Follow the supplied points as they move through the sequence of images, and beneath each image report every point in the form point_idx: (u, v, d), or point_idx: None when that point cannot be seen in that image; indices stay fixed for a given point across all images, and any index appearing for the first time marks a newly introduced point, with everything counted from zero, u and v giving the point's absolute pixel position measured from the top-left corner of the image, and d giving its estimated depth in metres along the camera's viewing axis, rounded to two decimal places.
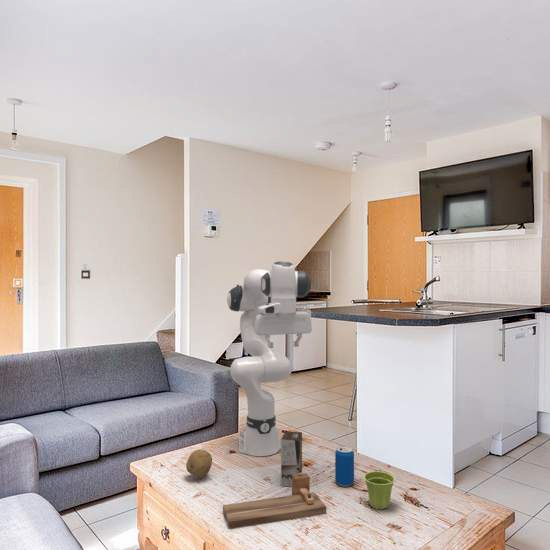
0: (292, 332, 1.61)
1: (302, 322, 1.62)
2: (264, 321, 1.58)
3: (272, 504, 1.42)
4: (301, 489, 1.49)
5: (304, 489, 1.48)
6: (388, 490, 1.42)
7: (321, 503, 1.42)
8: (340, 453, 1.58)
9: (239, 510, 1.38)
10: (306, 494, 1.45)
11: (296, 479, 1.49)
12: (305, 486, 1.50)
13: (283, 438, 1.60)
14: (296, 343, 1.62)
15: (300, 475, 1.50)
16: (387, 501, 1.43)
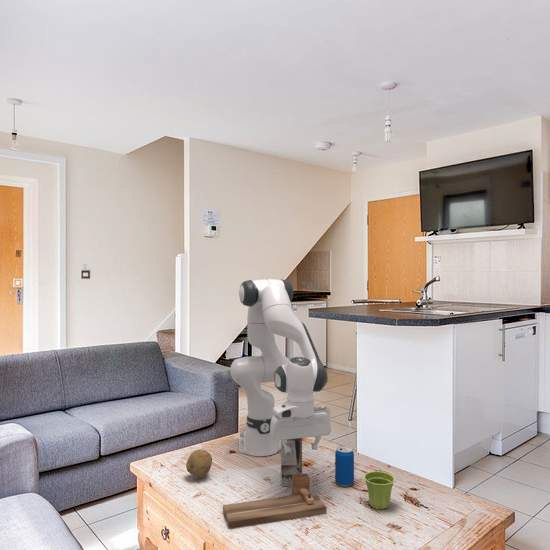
0: (310, 435, 1.50)
1: (321, 424, 1.51)
2: (280, 425, 1.47)
3: (272, 504, 1.42)
4: (301, 489, 1.49)
5: (304, 489, 1.48)
6: (388, 490, 1.42)
7: (321, 503, 1.42)
8: (340, 453, 1.58)
9: (239, 510, 1.38)
10: (306, 494, 1.45)
11: (296, 479, 1.49)
12: (305, 486, 1.50)
13: None
14: (314, 446, 1.51)
15: (300, 475, 1.50)
16: (387, 501, 1.43)
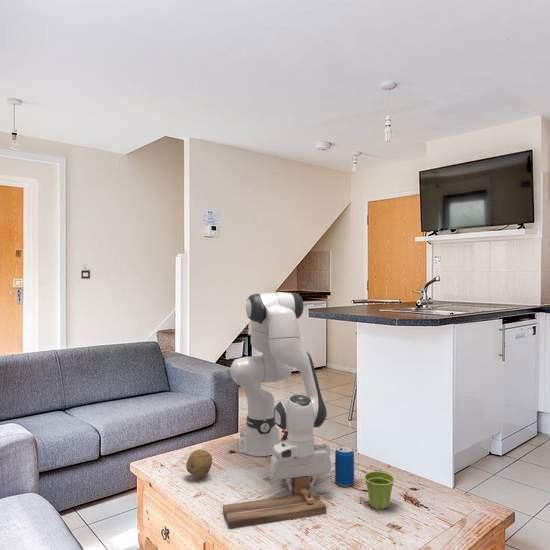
0: (310, 474, 1.50)
1: (321, 462, 1.51)
2: (280, 465, 1.47)
3: (272, 504, 1.42)
4: (301, 489, 1.49)
5: (304, 489, 1.48)
6: (388, 490, 1.42)
7: (321, 503, 1.42)
8: (340, 453, 1.58)
9: (239, 510, 1.38)
10: (306, 494, 1.45)
11: (296, 479, 1.49)
12: (305, 486, 1.50)
13: (283, 438, 1.60)
14: (310, 485, 1.51)
15: None
16: (387, 501, 1.43)
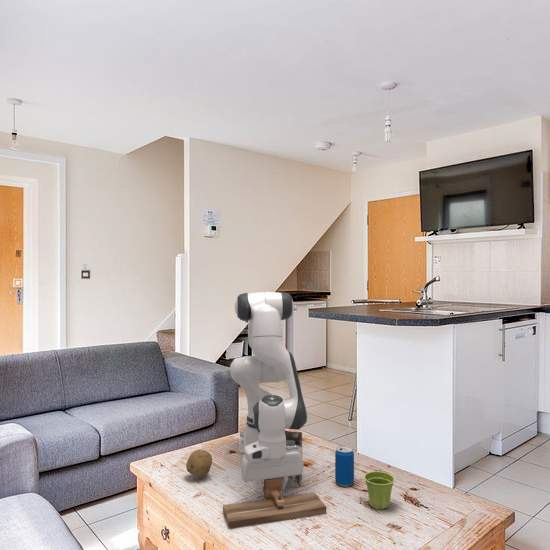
0: (282, 475, 1.47)
1: (293, 464, 1.48)
2: (250, 466, 1.44)
3: (272, 504, 1.42)
4: (272, 491, 1.46)
5: (275, 491, 1.45)
6: (388, 490, 1.42)
7: (321, 503, 1.42)
8: (340, 453, 1.58)
9: (239, 510, 1.38)
10: (277, 496, 1.42)
11: (267, 481, 1.46)
12: (277, 488, 1.47)
13: None
14: (282, 487, 1.48)
15: None
16: (387, 501, 1.43)
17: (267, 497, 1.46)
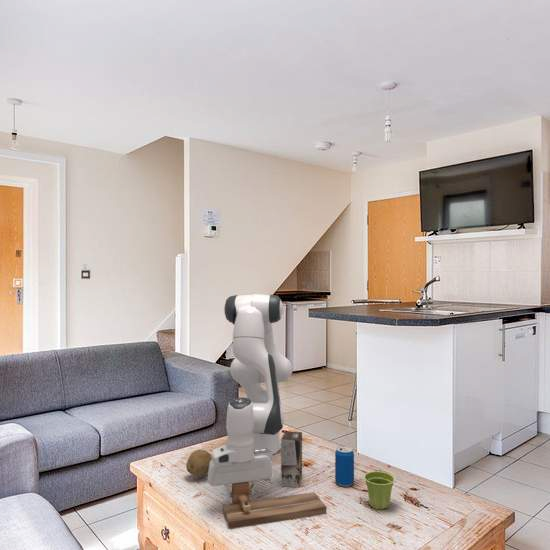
0: (250, 480, 1.44)
1: (262, 468, 1.45)
2: (217, 470, 1.41)
3: (272, 504, 1.42)
4: (240, 495, 1.43)
5: (243, 496, 1.42)
6: (388, 490, 1.42)
7: (321, 503, 1.42)
8: (340, 453, 1.58)
9: (239, 510, 1.38)
10: (244, 501, 1.39)
11: (235, 485, 1.43)
12: (245, 492, 1.44)
13: (283, 438, 1.60)
14: (250, 491, 1.45)
15: None
16: (387, 501, 1.43)
17: (235, 502, 1.43)
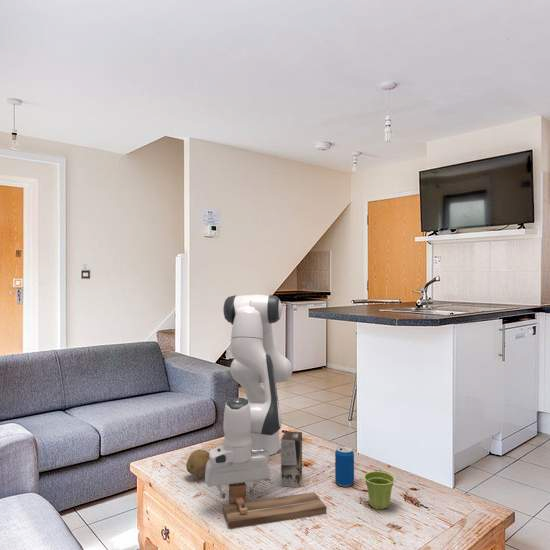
0: (247, 480, 1.44)
1: (259, 468, 1.45)
2: (214, 471, 1.41)
3: (272, 504, 1.42)
4: (237, 498, 1.43)
5: (240, 498, 1.42)
6: (388, 490, 1.42)
7: (321, 503, 1.42)
8: (340, 453, 1.58)
9: None
10: (241, 503, 1.39)
11: (232, 488, 1.43)
12: (242, 495, 1.44)
13: (283, 438, 1.60)
14: (252, 491, 1.45)
15: (237, 483, 1.44)
16: (387, 501, 1.43)
17: None
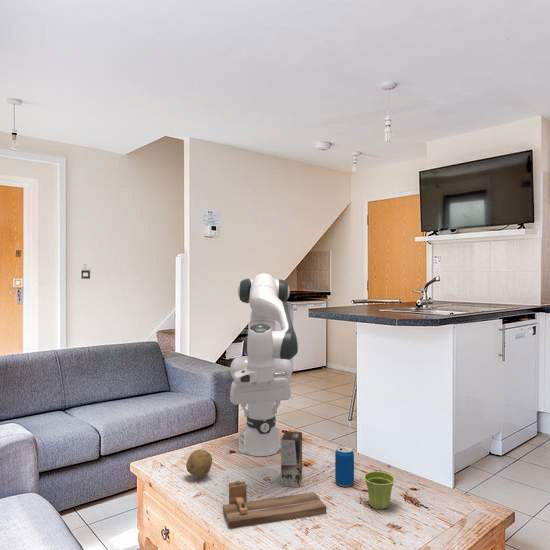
0: (269, 400, 1.53)
1: (280, 389, 1.54)
2: (239, 390, 1.50)
3: (272, 504, 1.42)
4: (237, 498, 1.43)
5: (240, 498, 1.42)
6: (388, 490, 1.42)
7: (321, 503, 1.42)
8: (340, 453, 1.58)
9: None
10: (241, 503, 1.39)
11: (232, 488, 1.43)
12: (242, 495, 1.44)
13: (283, 438, 1.60)
14: (274, 410, 1.54)
15: (237, 483, 1.44)
16: (387, 501, 1.43)
17: None
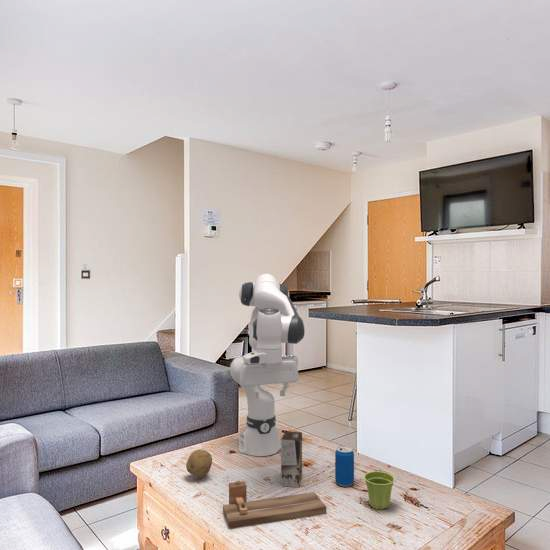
0: (278, 382, 1.56)
1: (289, 371, 1.57)
2: (249, 371, 1.53)
3: (272, 504, 1.42)
4: (237, 498, 1.43)
5: (240, 498, 1.42)
6: (388, 490, 1.42)
7: (321, 503, 1.42)
8: (340, 453, 1.58)
9: None
10: (241, 503, 1.39)
11: (232, 488, 1.43)
12: (242, 495, 1.44)
13: (283, 438, 1.60)
14: (282, 392, 1.57)
15: (237, 483, 1.44)
16: (387, 501, 1.43)
17: None
